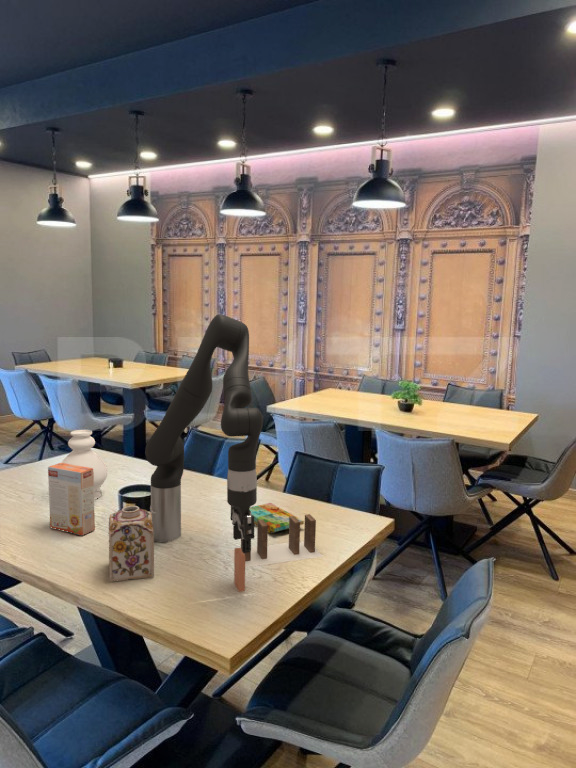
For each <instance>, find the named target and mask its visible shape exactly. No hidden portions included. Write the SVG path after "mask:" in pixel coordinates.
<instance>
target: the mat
mask: <svg viewBox="0 0 576 768" xmlns="http://www.w3.org/2000/svg"><path fill="white" fill-rule="evenodd" d="M227 552H228V554H229V556H230V557H231V560H232V561H233V562H234V549H227ZM323 557H324V555H322V554H321V553H320V551H319V550H318V549H317V548H316V547H315V552H312V553H310V552H309V551H308V550H307V549H306V548H305V546H304V540H301V541H300V547H299V554H297V555H294V554H293V553H292V551H291V550H290V549H289V542H283V543H276V544H275V543H274V544H267V559H261V557H260V556H259V554H258V553H257V546H251V561H245V568H251V567H252V568H253V567H256V566H257V567H258V566H265V565H266V566H267V565H272V564H280V563H281V564H282V563H288V562H294V561H301V560H309V559H316V558H323Z"/></svg>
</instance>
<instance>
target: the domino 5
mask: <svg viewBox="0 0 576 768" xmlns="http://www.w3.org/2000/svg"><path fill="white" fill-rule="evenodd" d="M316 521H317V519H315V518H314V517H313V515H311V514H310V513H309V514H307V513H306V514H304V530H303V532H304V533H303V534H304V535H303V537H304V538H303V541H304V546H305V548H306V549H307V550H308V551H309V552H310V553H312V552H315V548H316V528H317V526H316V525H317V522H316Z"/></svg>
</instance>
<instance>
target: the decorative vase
mask: <svg viewBox="0 0 576 768" xmlns="http://www.w3.org/2000/svg"><path fill="white" fill-rule="evenodd" d="M92 434H93V431H92V429H91V430H90V429H75V430H72V431H70V436H72V437H71V438H70V439H69V440H68V442H67V445H68V447H69V448H70V449H71V450H72V451H70V452H69V453H68V454H67V455H66V457H65V458H64V459H63V460H62V461H61V463H66V464H71V465H77V466H82V467H88V468H93V477H94V501H96V500H98V499H100V498H101V495H102V494H101V492H100V491H99V489H100V488H101V487H102V485H103V484H104V482H106V480H107V477H108V474H109V473H108V471H109V470H108V468H107V465H106V463H105V461H104V460H103V458H102V457H100V455H99V454H97V453H96V452H95V451H94V450H93V449H92V448H93V447H94V446H95V444H96V441H95V438H94V437H92V436H91V435H92ZM99 497H100V498H99ZM97 498H98V499H97ZM95 499H96V500H95Z"/></svg>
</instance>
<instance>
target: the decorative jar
mask: <svg viewBox="0 0 576 768" xmlns="http://www.w3.org/2000/svg"><path fill="white" fill-rule="evenodd" d="M108 520H109V521H108V566H109V567H108V568H109V570H108V571H109V575H108V577H109V582H110V581H114V582H120V581H119V580H123V581H129V580H128V579H132V580H139V579H140V578H142V579H149V578H154V576H155V541H154V529H153V522H152V521H153V520H152V514H151V512H150V510H149V511H148V510H147V509H142V508H140V507H139V506H137V505H127V506H125V507H123V508H121V510H118V511H116V512H113V513H111V514H110V515H109V517H108ZM117 580H118V581H117Z"/></svg>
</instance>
